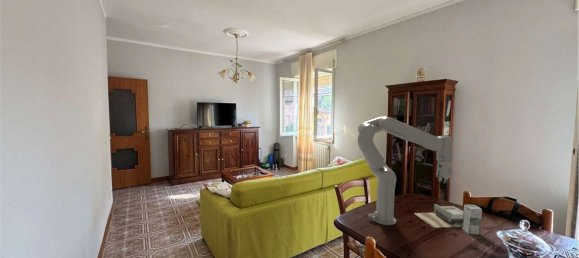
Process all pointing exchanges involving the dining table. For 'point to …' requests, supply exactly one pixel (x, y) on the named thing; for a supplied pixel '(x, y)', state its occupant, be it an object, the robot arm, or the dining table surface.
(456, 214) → the pale grey flat box
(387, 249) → the dining table surface
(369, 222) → the dining table surface
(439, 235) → the dining table surface
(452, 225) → the cream tray
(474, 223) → the syrup box
